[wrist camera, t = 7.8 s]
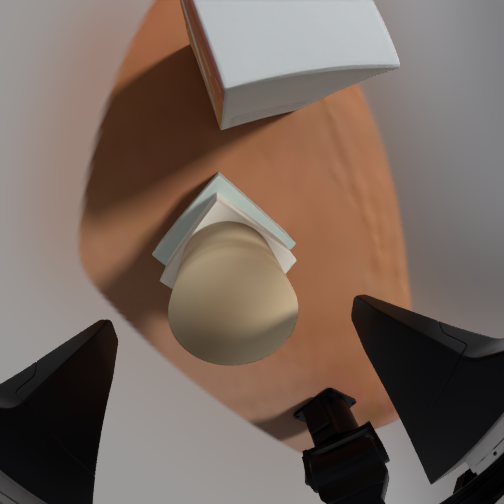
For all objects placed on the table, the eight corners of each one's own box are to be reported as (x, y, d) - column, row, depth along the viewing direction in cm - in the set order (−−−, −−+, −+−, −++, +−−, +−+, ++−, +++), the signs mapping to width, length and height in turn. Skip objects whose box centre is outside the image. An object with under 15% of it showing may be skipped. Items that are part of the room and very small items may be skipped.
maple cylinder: (291, 258, 15) (323, 306, 10) (233, 319, 16) (241, 380, 11) (220, 201, 13) (223, 228, 9) (163, 272, 14) (144, 326, 10)
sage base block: (284, 230, 22) (295, 243, 19) (226, 290, 23) (228, 312, 20) (218, 171, 20) (218, 174, 16) (161, 239, 21) (151, 254, 18)
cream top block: (282, 241, 18) (296, 260, 15) (233, 299, 19) (237, 327, 16) (216, 192, 17) (216, 200, 13) (169, 258, 18) (159, 281, 15)
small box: (188, 43, 15) (162, -67, 3) (267, 25, 15) (321, -80, 3) (219, 133, 18) (222, 93, 6) (300, 111, 18) (408, 67, 6)
